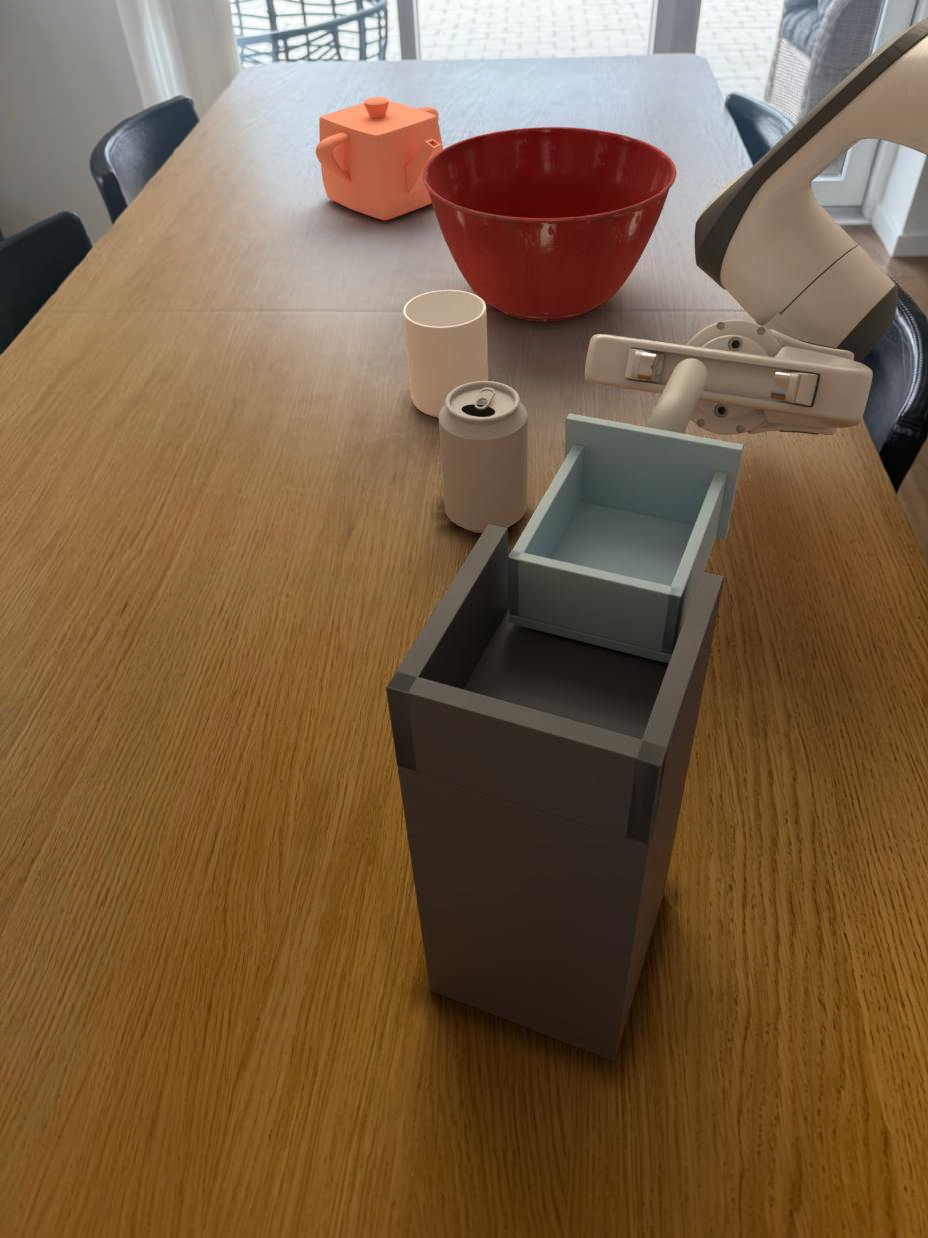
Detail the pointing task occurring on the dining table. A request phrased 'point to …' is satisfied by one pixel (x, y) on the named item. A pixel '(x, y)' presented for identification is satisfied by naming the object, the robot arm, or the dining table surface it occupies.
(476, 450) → the can
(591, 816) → the box
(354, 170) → the teapot
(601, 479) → the tray
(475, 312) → the mug
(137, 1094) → the dining table surface
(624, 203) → the mixing bowl
